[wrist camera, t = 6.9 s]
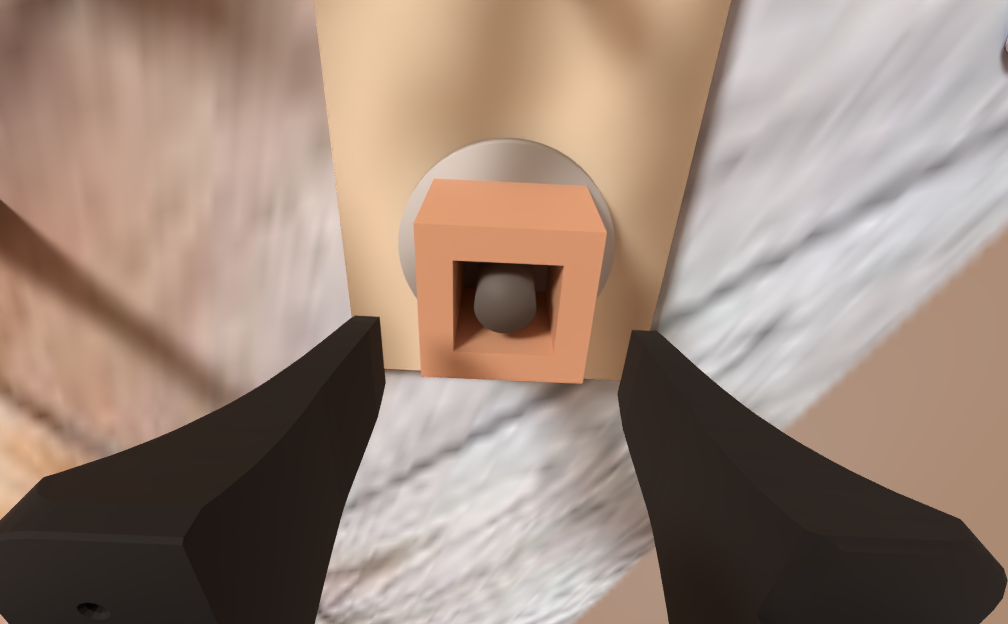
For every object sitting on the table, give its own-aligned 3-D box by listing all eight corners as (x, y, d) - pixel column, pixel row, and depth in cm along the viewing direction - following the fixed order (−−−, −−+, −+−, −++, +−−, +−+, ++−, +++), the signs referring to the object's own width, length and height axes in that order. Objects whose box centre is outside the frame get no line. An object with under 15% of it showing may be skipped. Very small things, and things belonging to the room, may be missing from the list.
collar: (587, 185, 16) (606, 232, 13) (569, 315, 19) (582, 383, 16) (433, 178, 16) (413, 223, 13) (437, 309, 19) (421, 376, 15)
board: (858, -590, 10) (1163, -1119, 5) (632, 367, 22) (664, 462, 18) (253, -642, 10) (16, -1240, 5) (363, 353, 22) (324, 445, 18)
